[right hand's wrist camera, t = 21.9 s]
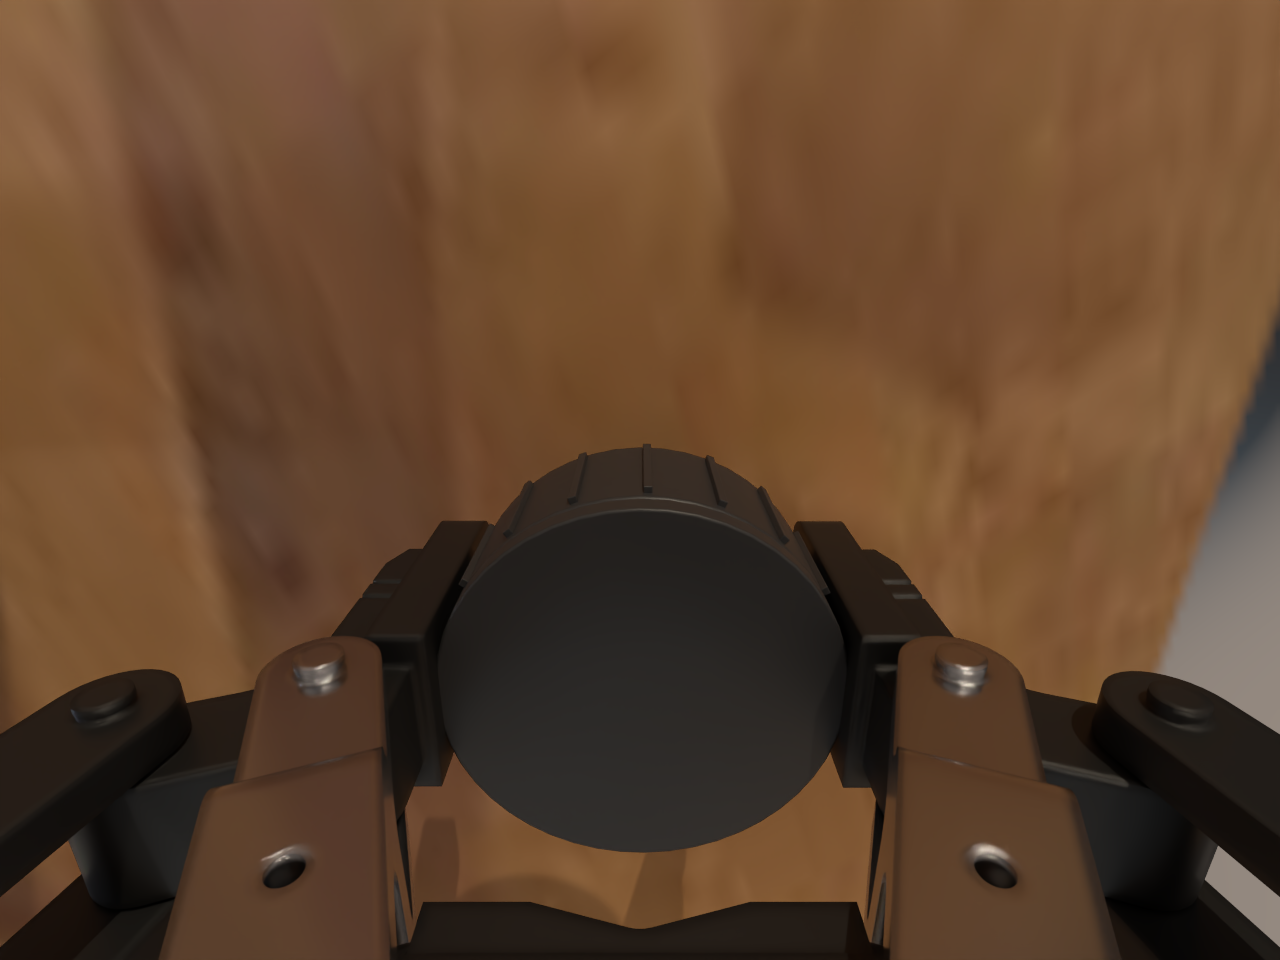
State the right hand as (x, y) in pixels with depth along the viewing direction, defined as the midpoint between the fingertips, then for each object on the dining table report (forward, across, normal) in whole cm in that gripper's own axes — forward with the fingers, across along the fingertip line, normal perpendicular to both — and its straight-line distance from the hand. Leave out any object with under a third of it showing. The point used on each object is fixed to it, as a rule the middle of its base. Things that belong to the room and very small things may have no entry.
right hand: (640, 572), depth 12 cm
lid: (-3, 0, 0) cm, 3 cm away
